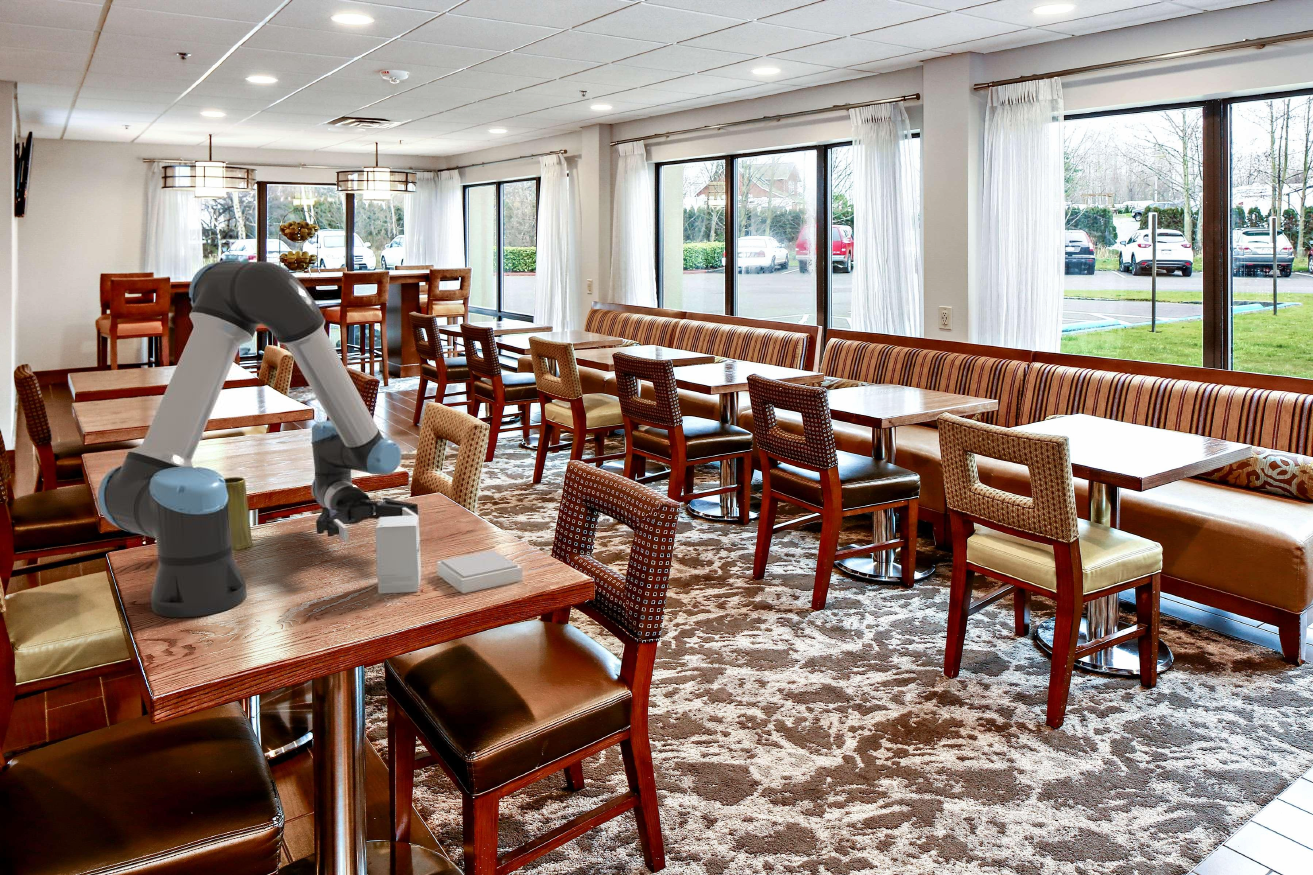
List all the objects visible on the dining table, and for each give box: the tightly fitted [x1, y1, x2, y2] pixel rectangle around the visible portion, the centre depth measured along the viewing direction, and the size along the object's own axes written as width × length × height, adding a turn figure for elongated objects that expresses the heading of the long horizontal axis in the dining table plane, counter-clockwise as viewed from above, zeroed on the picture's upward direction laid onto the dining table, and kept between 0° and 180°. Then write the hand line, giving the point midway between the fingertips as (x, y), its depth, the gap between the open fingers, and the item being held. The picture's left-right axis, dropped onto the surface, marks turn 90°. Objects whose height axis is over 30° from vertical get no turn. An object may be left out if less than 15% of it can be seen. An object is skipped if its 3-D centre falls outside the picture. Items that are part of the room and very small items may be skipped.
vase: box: [223, 476, 254, 551], centre depth 196 cm, size 6×6×14 cm
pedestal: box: [436, 549, 523, 594], centre depth 179 cm, size 12×12×3 cm
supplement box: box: [374, 514, 422, 594], centre depth 174 cm, size 7×7×13 cm
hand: (381, 528), depth 181 cm, fingers open, 13 cm apart
